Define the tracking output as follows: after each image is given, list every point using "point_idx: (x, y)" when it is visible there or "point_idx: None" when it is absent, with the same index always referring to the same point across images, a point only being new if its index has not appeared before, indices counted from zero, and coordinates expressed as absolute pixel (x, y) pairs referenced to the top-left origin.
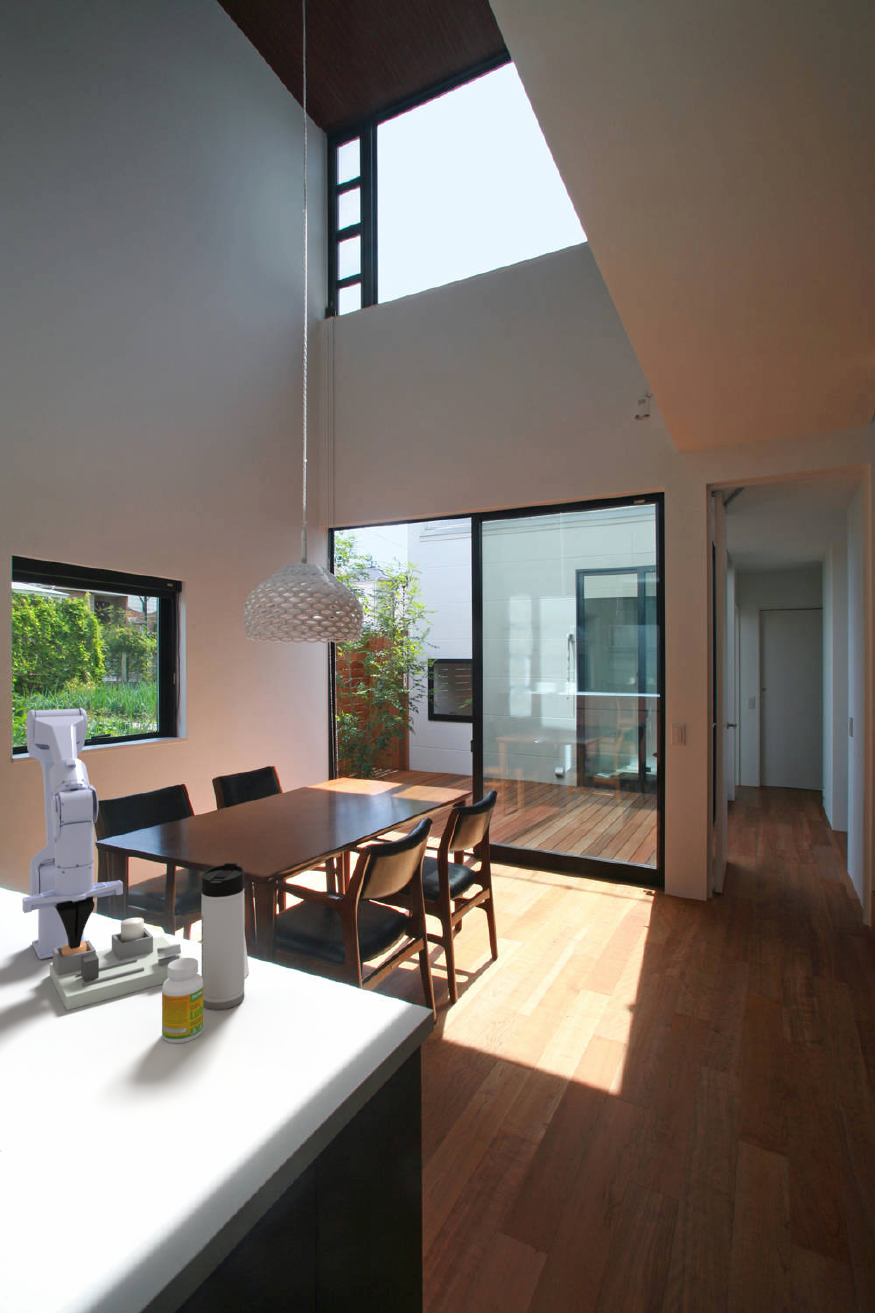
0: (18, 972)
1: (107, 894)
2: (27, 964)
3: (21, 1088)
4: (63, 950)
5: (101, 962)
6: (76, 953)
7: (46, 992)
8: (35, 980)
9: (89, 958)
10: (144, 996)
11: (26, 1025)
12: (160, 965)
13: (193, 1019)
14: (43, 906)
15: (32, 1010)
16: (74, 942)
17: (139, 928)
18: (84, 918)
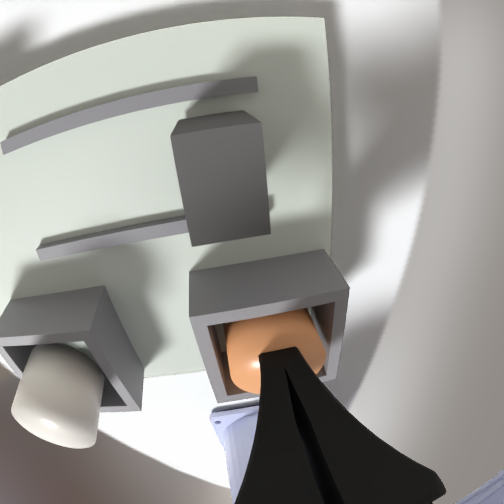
0: (362, 356)
1: None
2: (337, 383)
3: None
4: (322, 345)
5: (168, 295)
6: (272, 321)
7: (342, 216)
8: (347, 307)
9: (227, 170)
10: (39, 20)
11: (411, 17)
12: None
13: None
14: (480, 495)
15: (393, 105)
16: (290, 366)
17: (20, 384)
18: (271, 478)
